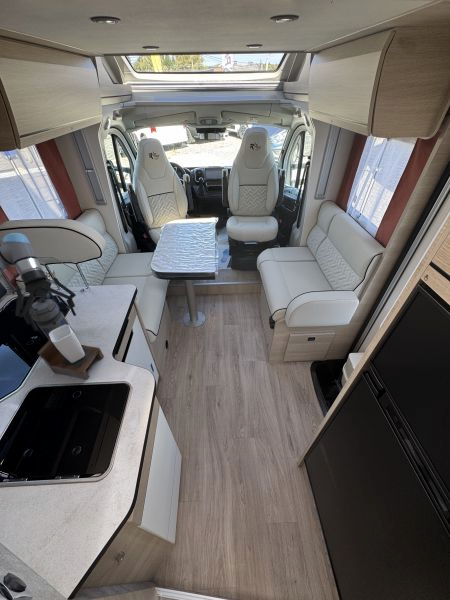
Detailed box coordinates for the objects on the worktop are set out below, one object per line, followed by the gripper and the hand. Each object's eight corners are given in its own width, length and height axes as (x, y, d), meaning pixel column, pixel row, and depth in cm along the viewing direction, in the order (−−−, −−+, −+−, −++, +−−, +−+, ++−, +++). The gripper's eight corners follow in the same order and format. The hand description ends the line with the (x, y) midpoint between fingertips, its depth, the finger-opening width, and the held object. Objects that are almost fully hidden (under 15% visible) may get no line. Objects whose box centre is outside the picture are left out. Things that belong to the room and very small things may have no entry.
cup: (65, 355, 106) (47, 332, 96) (83, 346, 109) (67, 322, 99) (70, 367, 101) (52, 343, 92) (88, 356, 105) (73, 333, 95)
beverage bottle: (81, 327, 126) (58, 288, 110) (68, 348, 116) (40, 309, 100) (61, 327, 127) (35, 288, 110) (47, 348, 117) (15, 309, 100)
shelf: (54, 373, 107) (37, 352, 98) (73, 350, 116) (58, 330, 106) (87, 379, 104) (72, 359, 95) (104, 356, 113) (92, 335, 103)
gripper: (68, 264, 106) (90, 310, 106) (-3, 286, 95) (22, 337, 96) (65, 259, 99) (88, 308, 99) (-13, 282, 88) (15, 337, 89)
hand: (56, 322), depth 98 cm, fingers open, 13 cm apart
